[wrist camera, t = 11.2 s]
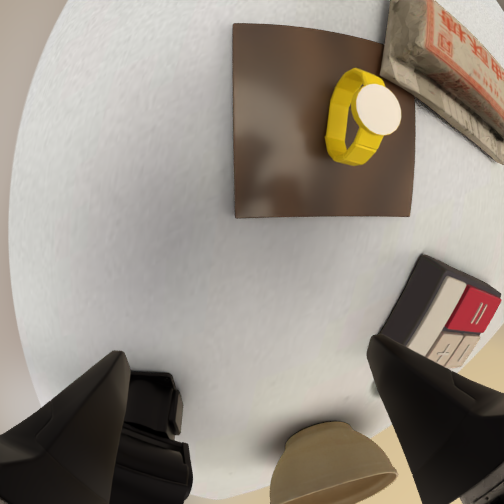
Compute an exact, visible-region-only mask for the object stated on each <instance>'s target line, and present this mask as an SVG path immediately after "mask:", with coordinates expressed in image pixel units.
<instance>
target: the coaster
mask: <svg viewBox="0 0 504 504" xmlns="http://www.w3.org/2000/svg"><path fill="white" fill-rule="evenodd" d="M383 52H384V44H381V43H377V42H374V41H370V40H366V39H362V38H358V37H354V36H350V35H345V34H340V33H335V32H330V31H324V30H318V29H311V28H304V27H295V26H285V25H272V24H248V23H234V24H233V149H234V195H235V218H266V217H314V216H388V217H410V211H411V202H412V192H413V180H414V164H415V97H414V95H412V94H411V93H409V92H408V91H406V90H405V89H403V88H401V87H400V86H398V85H396V84H394V83H393V82H391V81H389V80H387V79H385V78H384V77H382V76H380V70H381V64H382V58H383ZM353 68H358V69H361V70H363V71H366V72H369V73H371V74H374V75H375V76H377V77H379V78H381V79H382V80H383V82H384V84H385V87H386V88H388V89H389V90H390V91H391V92H392V93H393V94H394V95H395V97H396V98H397V100H398V102H399V105H400V108H401V121H400V124H399V126H398V128H397V129H396V130H395V131H394V132H393V133H391V134H389V135H385V136H383V138H382V141H381V143H380V145H379V148H378V149H377V150H376V152H375V153H374V154H373V155H372V157H371V158H370V159H369V160H368V161H367V162H366V163H364V164H363V165H357V166H351V165H347V164H343V163H339V162H336V161H334V160H333V159H332V158H331V156H330V155H329V154H328V152H327V147H326V142H325V136H326V131H327V123H328V115H329V107H330V99H331V97H332V94H333V92H334V89H335V86H336V84H337V83H338V82H339V80H340V79H341V77H342V76H343V74H345V73H346V72H347V71H349V70H351V69H353ZM362 86H364V85H363V84H362V85H361V86H360V88H361V87H362ZM358 130H359V126H358V124H357V123H356V121H355V120H354V118H353V114H352V111H351V104H350V106H349V110H348V119H347V127H346V135H345V145H346V149H347V150H348V148H349V147H350V146H351V144H352V143H353V142H354V140H355V137H356V135H357V132H358Z"/></svg>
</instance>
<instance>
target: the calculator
mask: <svg viewBox="0 0 504 504" xmlns="http://www.w3.org/2000/svg"><path fill="white" fill-rule="evenodd" d="M500 297H501V293H500V292H498V291H497V290H496V289H494V288H493V287H491V286H490V285H488V284H487V283H485V282H483V281H481V280H479V279H477V278H475V277H472V276H470V275H468V274H466V273H464V272H462V271H459V270H457V269H455V268H453V267H451V266H449V265H447V264H445V263H443V262H441V261H439V260H436V259H434V258H432V257H429V256H427V255H422V256H421V257H420V259H419V261H418V263H417V265H416V268H415V270H414V272H413V274H412V276H411V278H410V280H409V282H408V284H407V286H406V288H405V290H404V292H403V294H402V295H401V297H400V299H399V301H398V303H397V305H396V306H395V308H394V310H393V312H392V314H391V315H390V317H389V319H388V321H387V322H386V324H385V326H384V327H383V329H382V331H381V332H380V334H383V335H385V336H387V337H389V338H391V339H393V340H394V341H396V342H398V343H400V344H402V345H404V346H406V347H408V348H410V349H411V350H413V351H415V352H417V353H419V354H421V355H423V356H425V357H427V358H428V359H430V360H432V361H434V362H436V363H438V364H440V365H442V366H444V367H446V368H457V367H461V366H462V365H463V363H464V362H465V360H466V359H467V357H468V356H469V355H470V353H471V352H472V350H473V349H474V347H475V346H476V344H477V342H478V341H479V339H480V336H479V335H480V333H483V332H484V331H485V330H486V328H487V326H488V324H489V323H490V321H491V319H492V317H493V316H494V314H495V312H496V310H497V308H498V306H499V304H500V302H501V299H500Z"/></svg>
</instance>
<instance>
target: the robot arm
mask: <svg viewBox="0 0 504 504" xmlns="http://www.w3.org/2000/svg"><path fill="white" fill-rule="evenodd" d="M367 359H368V362H369V365H370V368H371V371H372V374H373V378H374V381H375V384H376V387H377V390H378V392H379V394H380V397H381V399H382V401H383V404H384V406H385V408H386V410H387V413H388V415H389V417H390V420H391V422H392V425H393V427H394V429H395V432H396V434H397V437H398V439H399V442H400V444H401V446H402V449H403V452H404V454H405V457H406V459H407V462H408V465H409V467H410V470H411V472H412V474H413V478H414V481H415V484H416V487H417V490H418V492H419V495H420V498H421V501H422V504H450V503H451V502H453V501H454V500H456V499H457V498H459V497H460V499H461V501H462V503H463V504H504V393H501V392H499V391H496V390H493V389H491V388H488V387H486V386H483V385H481V384H478V383H476V382H474V381H471V380H469V379H467V378H465V377H463V376H461V375H459V374H457V373H455V372H453V371H452V372H451V370H449V369H448V368H446V367H444V366H442V365H440V364H438V363H436V362H434V361H432V360H430V359H428V358H427V357H425V356H423V355H421V354H419V353H417V352H415V351H413V350H411V349H410V348H408V347H406V346H404V345H402V344H400V343H398V342H396V341H394V340H393V339H391V338H389V337H387V336H385V335H383V334H377V335H373V336H372V337H371V339H370V342H369V346H368V349H367ZM182 414H183V402H182V399H181V396H180V392H179V391H178V390H176V388H175V384H174V381H173V378H172V375H170V374H168V373H148V372H131V371H130V366H129V364H128V361H127V358H126V356H125V353H124V352H123V351H115V350H114V351H112V352H110V353H109V354H108V355H106V356H105V357H104V358H103V359H101V360H100V361H99V362H98V363H96V364H95V365H94V366H93V367H91V368H90V369H89V370H88V371H86V372H85V373H84V374H83V375H81V376H80V377H79V378H78V379H76V380H75V381H74V382H73V383H72V384H70V385H69V386H68V387H67V388H65V389H64V390H63V391H62V392H60V393H59V394H58V395H57V396H55V397H54V398H53V399H52V400H51V401H49V402H48V403H47V404H45V405H44V406H43V407H42V408H40V409H39V410H38V411H37V412H35V413H34V414H32V415H31V416H30V417H28V418H27V419H25V420H24V421H22V422H21V423H19V424H18V425H16V426H14V427H13V428H11V429H10V430H8V431H7V432H5V433H4V434H2V435H0V504H183V503H184V500H186V499H187V497H188V496H189V494H190V491H191V488H192V483H193V472H192V466H191V460H190V453H189V446H188V444H187V443H184V442H182V443H181V442H178V441H174V439H175V435H179V434H180V433H181V424H182Z"/></svg>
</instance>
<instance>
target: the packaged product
mask: <svg viewBox="0 0 504 504" xmlns="http://www.w3.org/2000/svg"><path fill="white" fill-rule="evenodd" d="M380 76H382V77H384V78H385V79H387V80H389V81H391V82H393V83H394V84H396V85H398V86H400V87H401V88H403V89H405V90H406V91H408V92H409V93H411V94H412V95H414V96H415V97H416V98H418V99H419V100H421V101H422V102H423V103H425V104H426V105H427V106H429V107H430V108H431V109H432V110H434V111H435V112H436V113H438V114H439V115H440V116H441V117H442V118H444V119H445V120H446V121H447V122H448V123H450V124H451V125H452V126H453V127H454V128H456V129H457V130H459V131H460V132H461V133H463V134H464V135H465V136H467V137H468V138H469V139H470V140H472V141H473V142H474V143H475V144H477V145H478V146H479V147H480V148H481V149H483V150H484V151H485V152H486V153H487V154H488V155H489V156H491V157H492V158H493V159H494V160H495V161H496V162H497V163H500V164H502V165H504V69H503V68H502V67H501V66H500V64H499V63H498V62H497V61H496V60H495V58H494V57H493V56H492V55H491V54H490V53H489V52H488V50H487V49H486V48H485V47H484V46H483V45H482V44H481V43H480V42H479V41H478V40H477V38H476V37H475V36H474V35H472V34H471V33H470V31H468V30H467V28H465V27H464V26H463V25H462V24H461V23H460V22H459V21H458V20H456V19H455V18H454V17H453V16H452V15H451V14H450V13H449V12H447V11H446V10H445V9H444V8H443V7H441V6H440V5H439V4H438V3H437V2H436V1H434V0H390V7H389V15H388V23H387V30H386V37H385V45H384V52H383V58H382V64H381V70H380Z"/></svg>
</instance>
